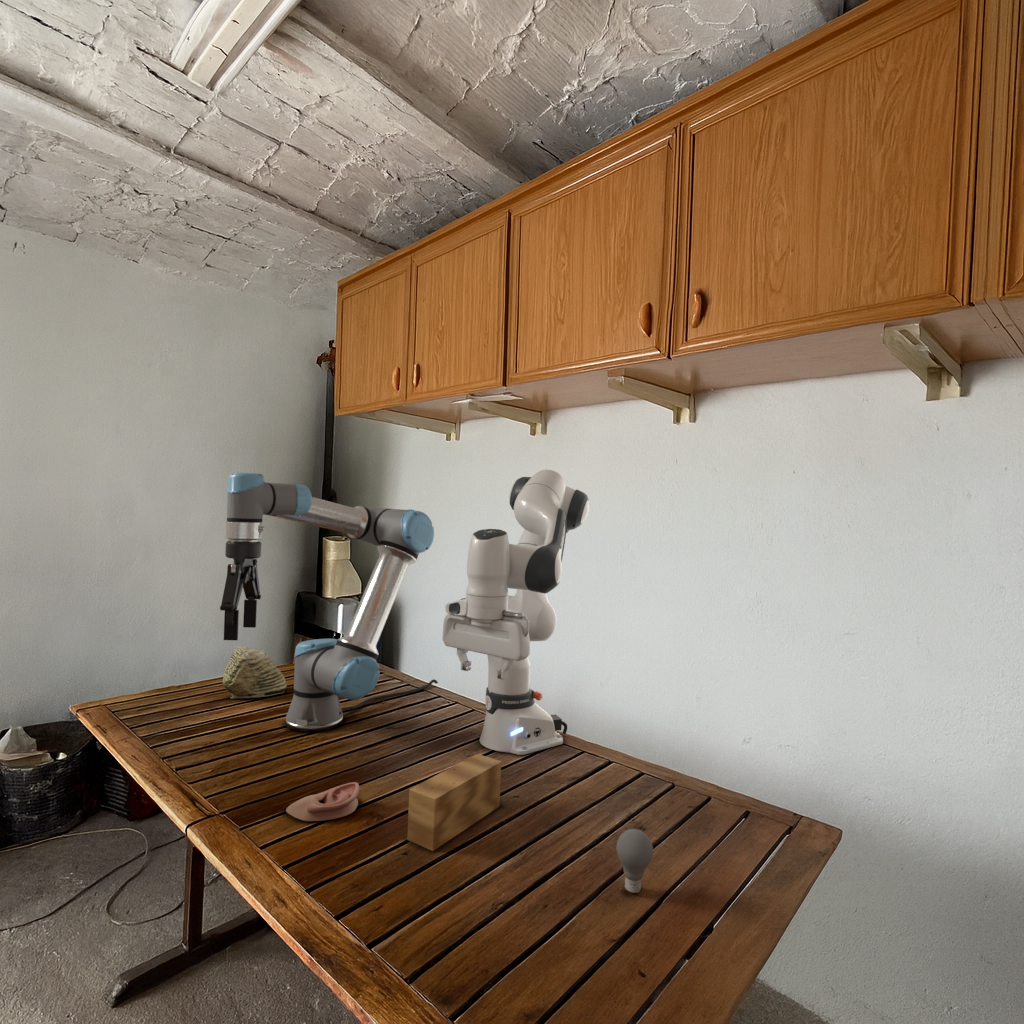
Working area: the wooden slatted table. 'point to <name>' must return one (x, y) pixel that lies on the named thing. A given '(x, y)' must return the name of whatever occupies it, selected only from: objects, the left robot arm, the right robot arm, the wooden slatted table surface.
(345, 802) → the anatomical model
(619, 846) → the light bulb
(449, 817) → the box
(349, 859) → the wooden slatted table surface
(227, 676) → the fossil
